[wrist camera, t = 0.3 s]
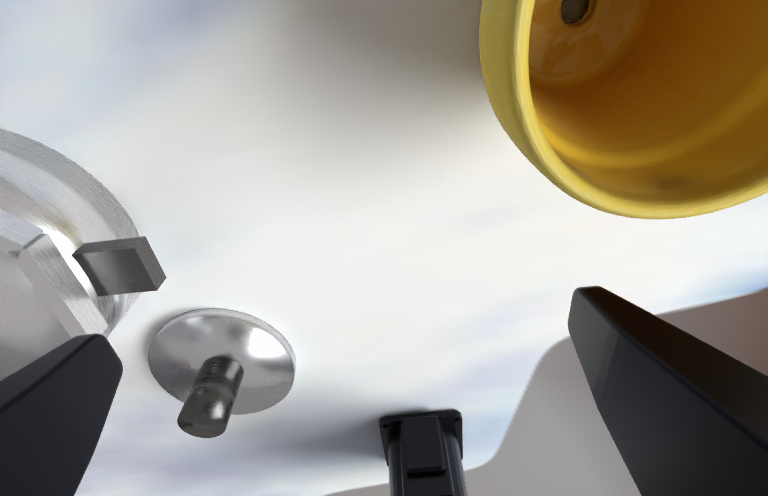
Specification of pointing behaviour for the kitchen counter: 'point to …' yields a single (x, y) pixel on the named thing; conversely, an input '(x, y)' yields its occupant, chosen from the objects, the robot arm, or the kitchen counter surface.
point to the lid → (221, 367)
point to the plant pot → (635, 99)
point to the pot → (62, 254)
